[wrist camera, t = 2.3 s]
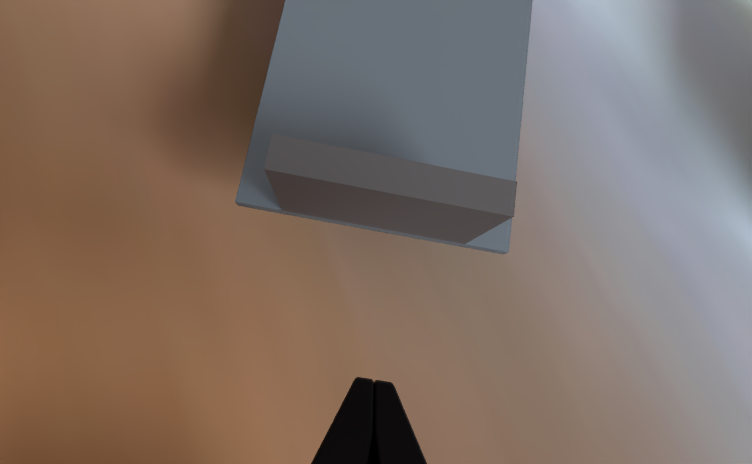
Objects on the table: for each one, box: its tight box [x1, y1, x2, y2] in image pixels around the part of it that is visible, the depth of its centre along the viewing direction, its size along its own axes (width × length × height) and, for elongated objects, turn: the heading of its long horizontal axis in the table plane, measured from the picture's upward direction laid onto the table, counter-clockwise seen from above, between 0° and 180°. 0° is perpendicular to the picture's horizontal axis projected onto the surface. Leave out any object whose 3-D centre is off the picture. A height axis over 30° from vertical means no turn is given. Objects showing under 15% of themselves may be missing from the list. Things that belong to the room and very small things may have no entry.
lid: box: [235, 0, 532, 254], centre depth 17 cm, size 14×12×6 cm
